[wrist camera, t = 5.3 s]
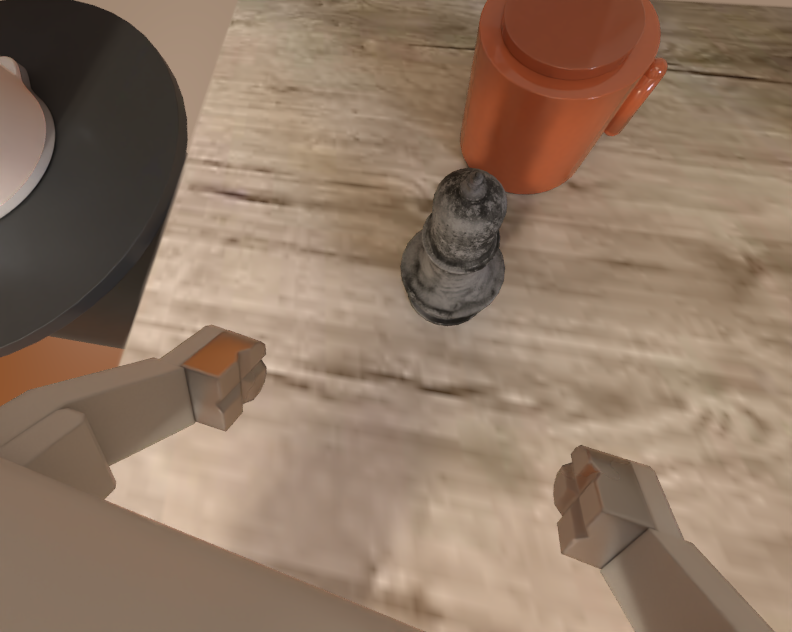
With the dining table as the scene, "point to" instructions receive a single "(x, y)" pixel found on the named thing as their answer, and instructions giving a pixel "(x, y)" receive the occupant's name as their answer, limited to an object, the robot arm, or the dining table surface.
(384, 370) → the dining table surface
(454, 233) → the grey chess piece
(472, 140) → the coffee cup
